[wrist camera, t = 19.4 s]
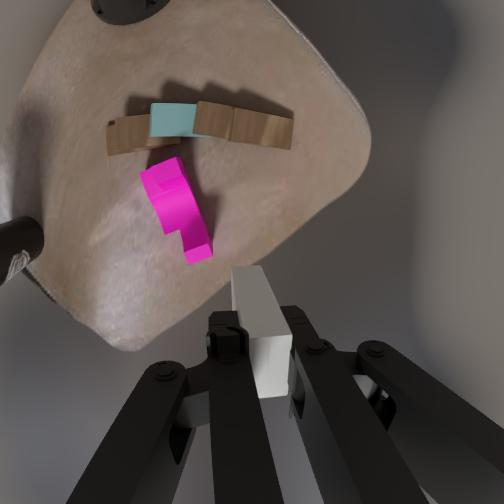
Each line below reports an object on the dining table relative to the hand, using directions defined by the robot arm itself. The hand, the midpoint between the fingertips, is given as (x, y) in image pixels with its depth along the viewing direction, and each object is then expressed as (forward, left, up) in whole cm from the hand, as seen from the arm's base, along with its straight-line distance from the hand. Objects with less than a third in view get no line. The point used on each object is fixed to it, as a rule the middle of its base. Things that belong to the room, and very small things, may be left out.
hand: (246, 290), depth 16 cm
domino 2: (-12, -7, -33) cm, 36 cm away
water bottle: (+4, -38, -35) cm, 52 cm away
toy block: (+1, -7, -35) cm, 36 cm away
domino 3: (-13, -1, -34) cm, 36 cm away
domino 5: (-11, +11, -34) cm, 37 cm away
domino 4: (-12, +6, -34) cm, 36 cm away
